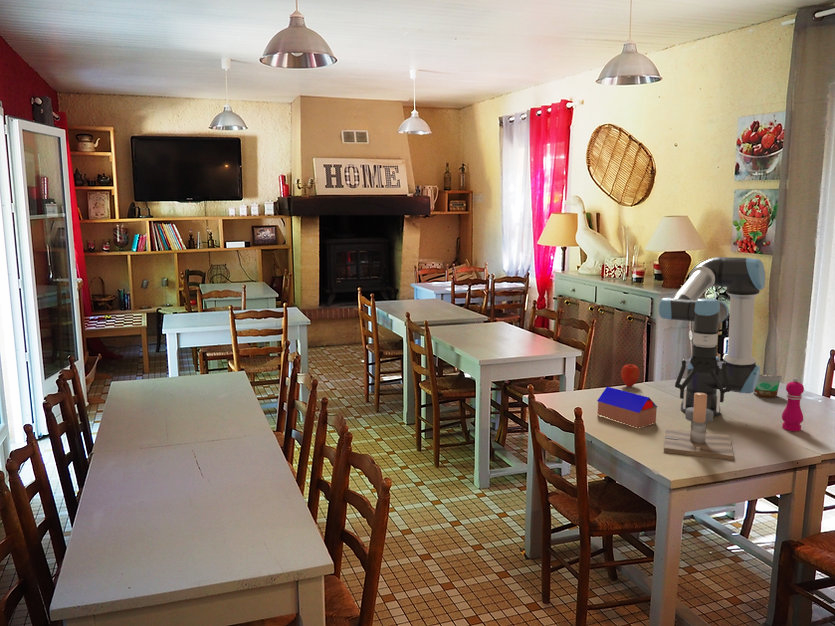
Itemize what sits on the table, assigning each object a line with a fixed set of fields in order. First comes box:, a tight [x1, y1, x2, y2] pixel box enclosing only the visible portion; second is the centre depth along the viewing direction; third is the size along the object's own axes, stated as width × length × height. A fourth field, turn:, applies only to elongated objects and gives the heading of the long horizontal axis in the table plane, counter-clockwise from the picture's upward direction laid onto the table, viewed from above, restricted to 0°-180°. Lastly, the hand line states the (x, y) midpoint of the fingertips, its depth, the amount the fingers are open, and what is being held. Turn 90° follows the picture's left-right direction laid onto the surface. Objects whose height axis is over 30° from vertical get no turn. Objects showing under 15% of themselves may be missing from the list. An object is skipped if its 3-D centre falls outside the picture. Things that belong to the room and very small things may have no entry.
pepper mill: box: [781, 377, 805, 432], centre depth 259 cm, size 7×7×20 cm
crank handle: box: [684, 393, 714, 426], centre depth 237 cm, size 16×9×12 cm, turn 157°
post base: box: [663, 421, 735, 461], centre depth 242 cm, size 22×22×10 cm
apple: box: [620, 363, 640, 388], centre depth 320 cm, size 9×8×11 cm
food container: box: [752, 373, 783, 399], centre depth 302 cm, size 12×6×10 cm, turn 73°
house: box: [596, 386, 658, 429], centre depth 271 cm, size 12×20×12 cm, turn 36°
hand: (700, 409), depth 231 cm, fingers open, 10 cm apart
